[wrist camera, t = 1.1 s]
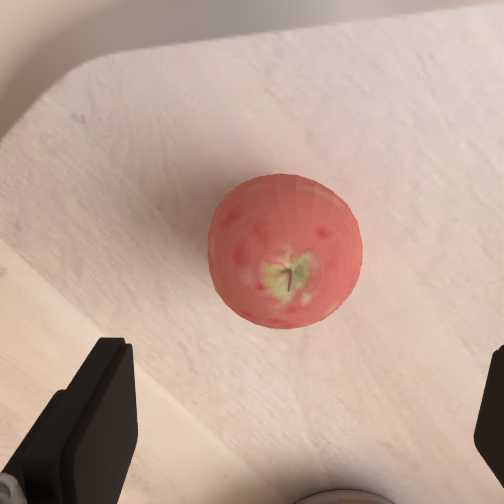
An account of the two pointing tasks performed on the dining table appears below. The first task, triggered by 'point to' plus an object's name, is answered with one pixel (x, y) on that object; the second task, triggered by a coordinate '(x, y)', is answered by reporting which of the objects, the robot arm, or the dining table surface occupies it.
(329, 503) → the pie
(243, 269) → the apple
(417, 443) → the dining table surface
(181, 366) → the dining table surface
